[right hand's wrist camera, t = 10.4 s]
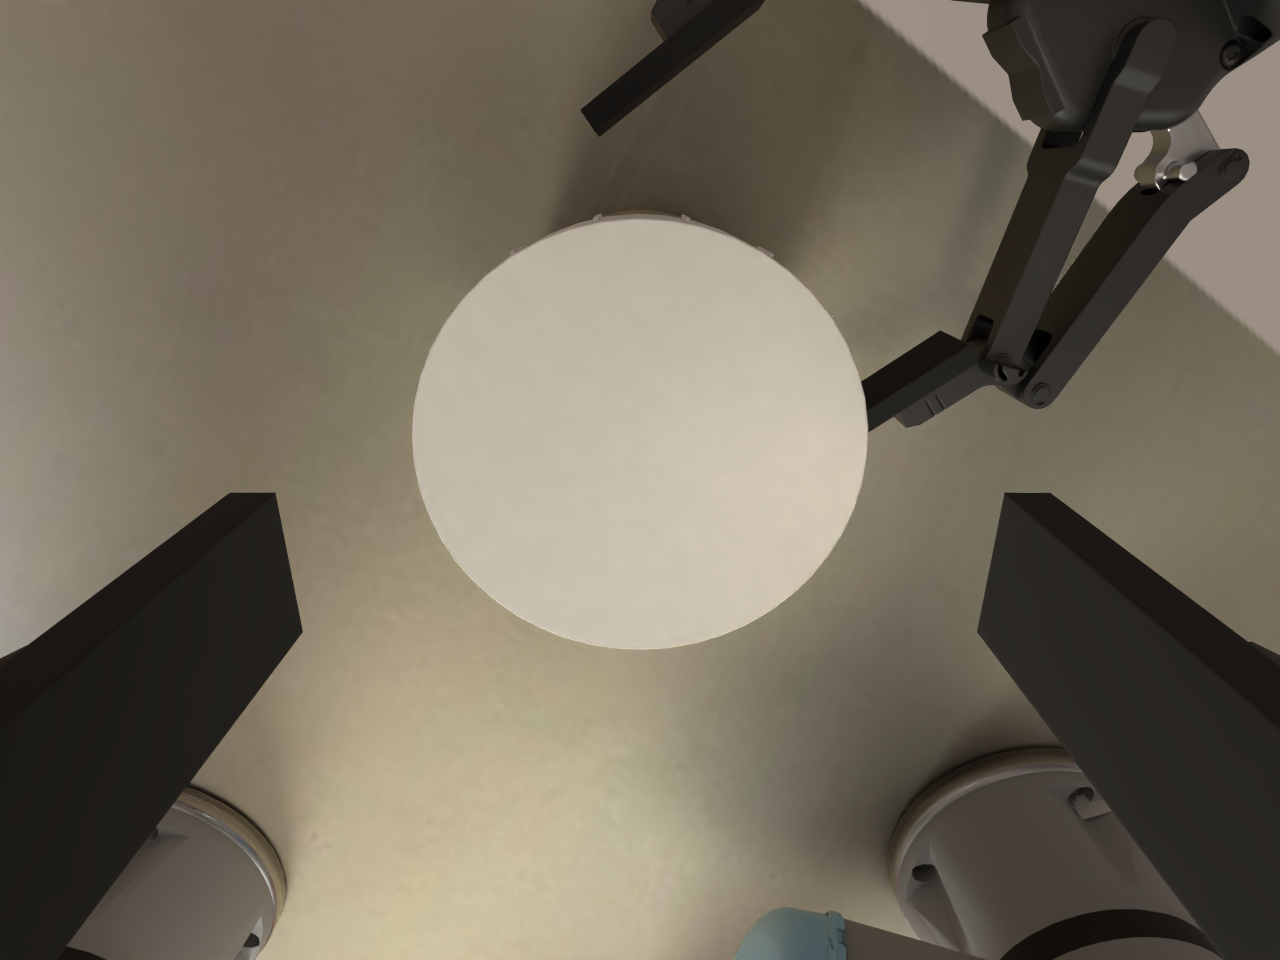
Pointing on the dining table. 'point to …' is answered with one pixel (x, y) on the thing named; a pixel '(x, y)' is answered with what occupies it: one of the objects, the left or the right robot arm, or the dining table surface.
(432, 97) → the dining table surface
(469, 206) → the dining table surface
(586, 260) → the lid
